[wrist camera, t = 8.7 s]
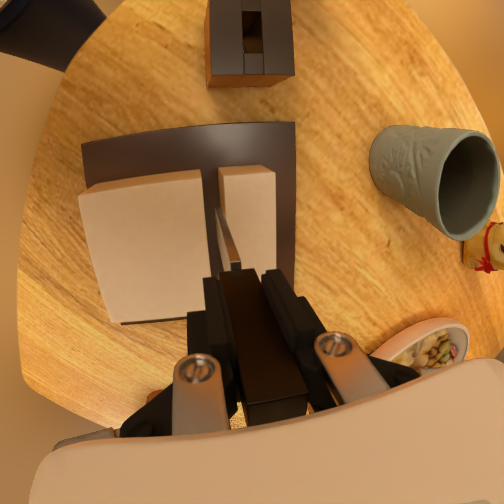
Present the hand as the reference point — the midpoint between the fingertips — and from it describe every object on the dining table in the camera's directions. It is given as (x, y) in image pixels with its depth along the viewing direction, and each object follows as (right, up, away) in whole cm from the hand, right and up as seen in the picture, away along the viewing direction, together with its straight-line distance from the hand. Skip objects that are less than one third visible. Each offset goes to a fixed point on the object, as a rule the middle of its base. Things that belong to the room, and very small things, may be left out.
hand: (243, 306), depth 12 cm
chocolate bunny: (+34, +4, +26) cm, 43 cm away
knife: (-2, +4, +9) cm, 11 cm away
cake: (-9, +4, +16) cm, 18 cm away
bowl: (+28, -21, +36) cm, 50 cm away
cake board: (-5, +4, +17) cm, 18 cm away
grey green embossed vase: (+17, +13, +18) cm, 28 cm away
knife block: (-1, +20, +11) cm, 23 cm away
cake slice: (-1, +5, +17) cm, 17 cm away
